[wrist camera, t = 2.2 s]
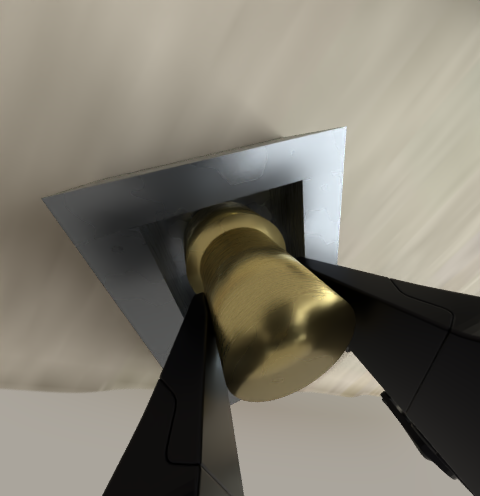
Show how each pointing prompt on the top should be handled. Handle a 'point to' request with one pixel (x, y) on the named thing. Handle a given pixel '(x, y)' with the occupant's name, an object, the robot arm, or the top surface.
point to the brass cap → (263, 304)
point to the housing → (186, 206)
